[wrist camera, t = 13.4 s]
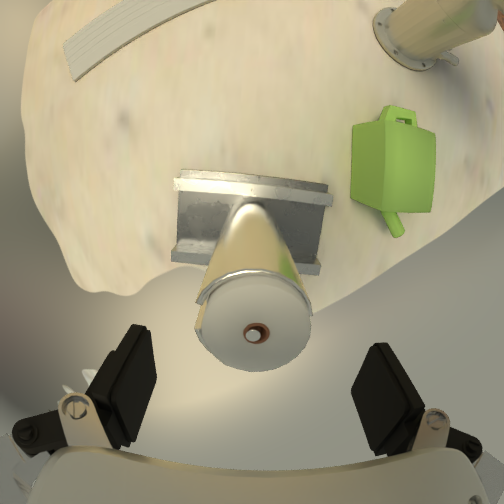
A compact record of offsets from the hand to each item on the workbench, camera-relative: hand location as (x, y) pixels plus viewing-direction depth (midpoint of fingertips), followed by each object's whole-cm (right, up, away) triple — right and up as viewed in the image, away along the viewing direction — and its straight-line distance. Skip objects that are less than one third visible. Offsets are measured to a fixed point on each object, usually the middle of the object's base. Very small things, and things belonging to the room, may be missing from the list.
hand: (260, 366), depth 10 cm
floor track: (-1, +9, +27) cm, 29 cm away
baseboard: (-17, +44, +16) cm, 50 cm away
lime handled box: (+19, +17, +25) cm, 36 cm away
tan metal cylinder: (-1, +9, +26) cm, 28 cm away
